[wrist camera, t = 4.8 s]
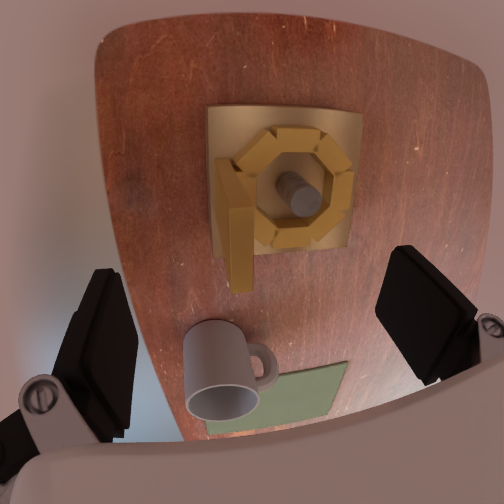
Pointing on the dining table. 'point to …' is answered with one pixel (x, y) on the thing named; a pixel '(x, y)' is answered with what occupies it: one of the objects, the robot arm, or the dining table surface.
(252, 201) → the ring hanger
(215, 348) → the cup
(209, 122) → the peg stand
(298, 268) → the dining table surface
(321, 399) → the felt mat
